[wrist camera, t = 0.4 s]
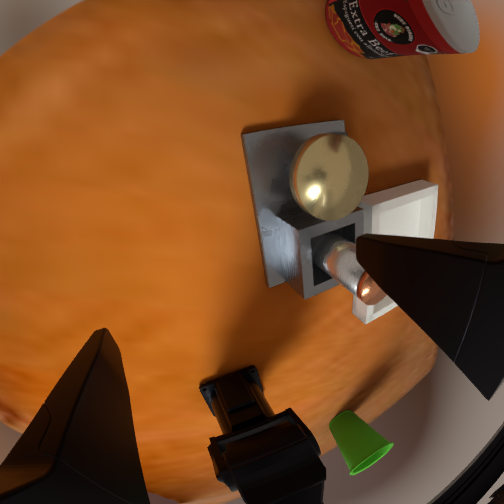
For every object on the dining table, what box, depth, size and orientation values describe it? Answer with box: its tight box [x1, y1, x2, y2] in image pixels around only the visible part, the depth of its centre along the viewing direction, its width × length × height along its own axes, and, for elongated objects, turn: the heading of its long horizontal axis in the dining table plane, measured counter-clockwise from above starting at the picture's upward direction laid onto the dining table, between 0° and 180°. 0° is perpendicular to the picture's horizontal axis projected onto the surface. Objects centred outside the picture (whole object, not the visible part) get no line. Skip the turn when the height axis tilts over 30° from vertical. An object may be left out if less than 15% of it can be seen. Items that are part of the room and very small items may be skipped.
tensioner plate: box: [241, 120, 369, 300], centre depth 22 cm, size 13×9×5 cm
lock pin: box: [310, 231, 387, 305], centre depth 21 cm, size 3×3×9 cm
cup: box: [329, 410, 393, 475], centre depth 40 cm, size 9×9×11 cm
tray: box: [352, 179, 438, 325], centre depth 29 cm, size 14×11×2 cm
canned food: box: [325, 0, 480, 59], centre depth 14 cm, size 8×8×11 cm
